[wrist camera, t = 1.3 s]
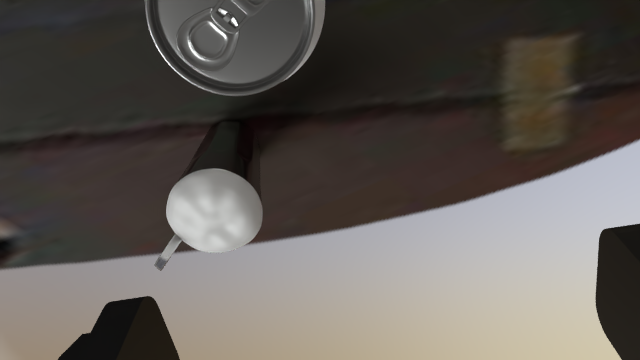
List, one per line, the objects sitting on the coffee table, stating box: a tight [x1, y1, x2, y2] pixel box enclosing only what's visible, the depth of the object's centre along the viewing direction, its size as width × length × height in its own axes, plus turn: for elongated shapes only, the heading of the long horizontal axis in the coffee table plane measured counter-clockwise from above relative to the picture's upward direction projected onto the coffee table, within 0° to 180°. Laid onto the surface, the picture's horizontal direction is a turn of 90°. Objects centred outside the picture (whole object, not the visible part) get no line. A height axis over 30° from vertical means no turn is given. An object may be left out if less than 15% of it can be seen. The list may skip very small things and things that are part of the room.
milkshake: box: [155, 121, 262, 271], centre depth 29 cm, size 4×5×10 cm
